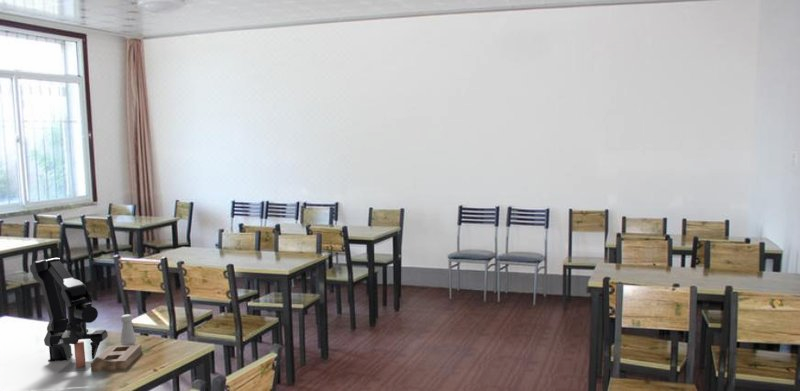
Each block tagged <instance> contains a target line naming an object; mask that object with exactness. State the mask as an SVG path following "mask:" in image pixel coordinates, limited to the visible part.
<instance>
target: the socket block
mask: <svg viewBox="0 0 800 391" xmlns="http://www.w3.org/2000/svg"><path fill="white" fill-rule="evenodd" d="M142 350H143V349H142V343H140V344H139V343H138V344H136V343H135V345H122V344H120V345H109V346H107V348H106V349H105V350H103V351H102V352H101V353H100V354H98V355H97V356H95V358H94V359H92V360H91V361H92V362H91V367H90V372H104V371H105V372H106V371H120V370H123V371H124V370H127V369H128V368H129V366H131V365H132V363H134V361H135V360H136V359H137V358H139V357H140V355H141V354H142V353H143V351H142Z"/></svg>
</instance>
